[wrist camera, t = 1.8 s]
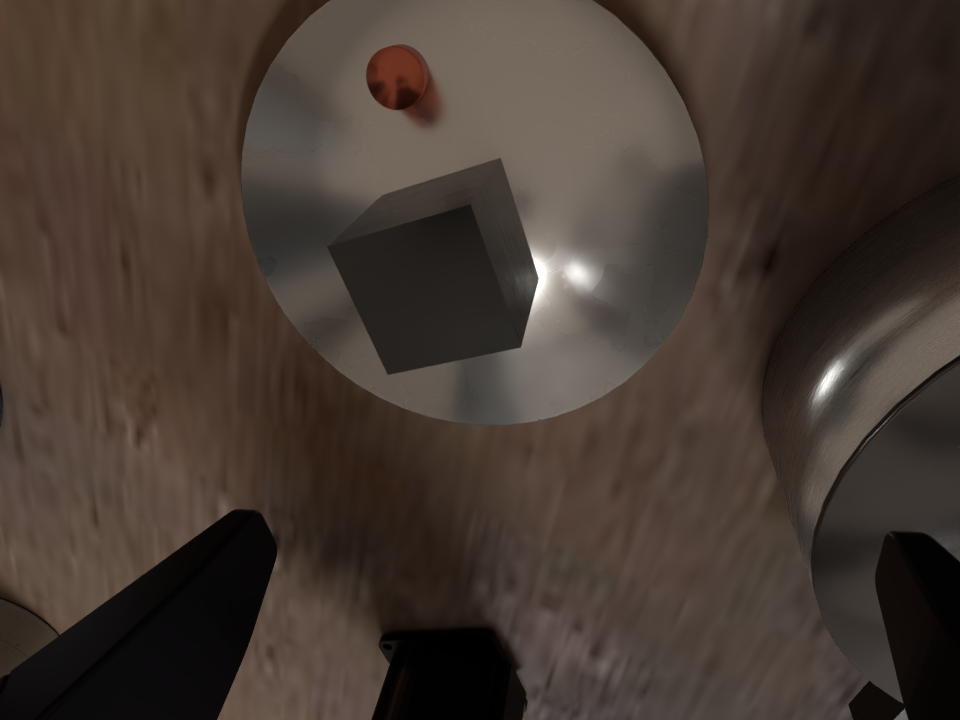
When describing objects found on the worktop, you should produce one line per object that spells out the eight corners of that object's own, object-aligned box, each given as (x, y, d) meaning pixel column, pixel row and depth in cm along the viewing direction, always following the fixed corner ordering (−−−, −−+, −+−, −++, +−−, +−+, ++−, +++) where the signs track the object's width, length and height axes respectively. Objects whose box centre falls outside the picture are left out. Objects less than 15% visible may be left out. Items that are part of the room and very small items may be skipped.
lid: (366, 433, 27) (311, 532, 22) (177, 68, 20) (40, 97, 15) (736, 368, 22) (770, 477, 17) (649, -141, 15) (663, -193, 11)
